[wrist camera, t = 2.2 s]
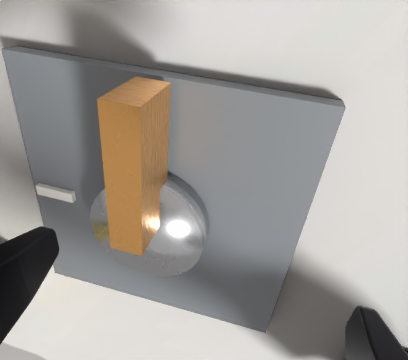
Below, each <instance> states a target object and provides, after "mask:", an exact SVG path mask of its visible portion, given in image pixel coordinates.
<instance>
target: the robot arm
mask: <svg viewBox="0 0 408 360" xmlns="http://www.w3.org/2000/svg"><path fill="white" fill-rule="evenodd" d="M58 254H59V244H58V240H57V236H56V232H55V230H54V229H51V228H47V227H38V228H35V229H33V230H31V231H29V232H26V233H24V234H22V235H20V236H17V237H15V238H13V239H11V240H8V241H6V242H4V243H2V244H0V344H1V343H2V341H3V340H4V339H5V337H6V336H7V334H8V333H9V332H10V330H11V329H12V327H13V326H14V325H15V323H16V322H17V320H18V319H19V318H20V316H21V315H22V314H23V312H24V311H25V309H26V308H27V306H28V305H29V304H30V302H31V301H32V299H33V297H34V296H35V294H36V293H37V291H38V289H39V287H40V286H41V284H42V282H43V281H44V279H45V277H46V275H47V274H48V272H49V270H50V268H51V267H52V265H53V263H54V262H55V260H56V258H57V256H58ZM345 340H346V360H408V352H406V351H405V350H404V349H403V347H402V346H401V344H400V343H399V342H398V340H397V339H396V338H395V336H394V335H393V333H392V332H391V331H390V329H389V328H388V326H387V325H386V324H385V322H384V321H383V319H382V318H381V317H380V315H379V314H378V313H377V311H375V310H374V309H372V308H368V307H364V306H357V307H356V308H355V310H354V312H353V313H352V315H351V317H350V319H349V321H348V323H347V325H346V331H345Z"/></svg>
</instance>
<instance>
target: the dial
mask: <svg viewBox="0 0 408 360" xmlns="http://www.w3.org/2000/svg"><path fill="white" fill-rule="evenodd" d="M170 98H171V82H165V81H159V80H153V79H148V78H142V77H134V78H132V79H130V80H129V81H127V82H125V83H124V84H122V85H120V86H118V87H117V88H115V89H113V90H111V91H110V92H108V93H106V94H105V95H103V96H101V97H99V98H98V99H97V105H98V116H99V126H100V137H101V148H102V159H103V170H104V181H105V188H104V189H103V190H102V191H101V192H100V193H99V195H98V196H97V197H96V198H95V200H94V202H93V204H92V207H91V212H90V221H91V226H92V229H93V232H94V234H95V236H96V238H97V239H98V241H99V243H100V244H101V245H102V247H103V248H104V249H105V250H106V251H107V252H108V253H109V254H110V255H111V256H112V257H113V258H114V259H116V260H117V261H119V262H120V263H121V264H123V265H125V266H126V267H128V268H130V269H132V270H135V271H137V272H140V273H143V274H147V275H151V276H158V277H168V276H175V275H179V274H182V273H184V272H186V271H188V270H189V269H191V268H192V267H193V266H194V265H195V264H196V263H197V261H198V260H199V258H200V256H201V253H202V250H203V247H204V245H205V242H206V239H207V236H208V232H209V225H210V223H209V216H208V212H207V209H206V207H205V205H204V203H203V201H202V200H201V198H200V197H199V195H198V194H197V193H196V192H195V191H194V190H193V189H192V188H191V187H190V186H189V185H188V184H187V183H185V182H184V181H182V180H181V179H179V178H178V177H176V176H174V175H172V174H170V173H168V149H169V124H170Z"/></svg>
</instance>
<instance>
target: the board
mask: <svg viewBox="0 0 408 360" xmlns="http://www.w3.org/2000/svg"><path fill="white" fill-rule="evenodd" d="M2 53H3V57H4V61H5V65H6V70H7V74H8V78H9V82H10V86H11V90H12V95H13V99H14V103H15V107H16V111H17V115H18V120H19V124H20V128H21V132H22V136H23V141H24V145H25V149H26V153H27V157H28V161H29V166H30V170H31V174H32V178H33V182H34V186H35V191H36V195H37V199H38V203H39V207H40V211H41V216H42V220H43V224H44V227H47V228H51V229H54V230H55V232H56V236H57V240H58V244H59V254H58V256H57V258H56V260H55V262H54V263H53V266H54V270H55V273H58V274H61V275H65V276H68V277H72V278H75V279H79V280H82V281H86V282H89V283H93V284H96V285H100V286H103V287H107V288H110V289H114V290H117V291H121V292H124V293H128V294H131V295H135V296H138V297H142V298H145V299H149V300H152V301H156V302H159V303H163V304H166V305H170V306H173V307H177V308H180V309H184V310H187V311H191V312H194V313H198V314H201V315H205V316H208V317H212V318H215V319H219V320H222V321H226V322H229V323H233V324H236V325H240V326H243V327H247V328H251V329H254V330H258V331H261V332H265V333H266V330H267V327H268V324H269V321H270V319H271V316H272V313H273V310H274V307H275V305H276V302H277V299H278V296H279V293H280V291H281V288H282V285H283V282H284V279H285V276H286V274H287V271H288V268H289V265H290V262H291V260H292V257H293V254H294V251H295V248H296V246H297V243H298V240H299V237H300V234H301V231H302V229H303V226H304V223H305V220H306V217H307V215H308V212H309V209H310V206H311V203H312V201H313V198H314V195H315V192H316V189H317V186H318V184H319V181H320V178H321V175H322V172H323V170H324V167H325V164H326V161H327V158H328V156H329V153H330V150H331V147H332V144H333V142H334V139H335V136H336V133H337V130H338V127H339V125H340V122H341V119H342V116H343V113H344V111H345V105H344V103H343V100H337V99H331V98H325V97H319V96H313V95H307V94H301V93H295V92H289V91H283V90H277V89H271V88H265V87H259V86H253V85H247V84H241V83H235V82H229V81H223V80H217V79H211V78H205V77H199V76H193V75H187V74H181V73H175V72H169V71H164V70H158V69H152V68H146V67H140V66H134V65H128V64H122V63H116V62H110V61H104V60H98V59H92V58H86V57H80V56H74V55H68V54H62V53H56V52H50V51H44V50H38V49H32V48H26V47H20V46H13V47H9V48H4V49H2ZM134 77H142V78H148V79H153V80H159V81H165V82H171V98H170V124H169V149H168V173H170V174H172V175H174V176H176V177H178V178H179V179H181V180H182V181H184V182H185V183H187V184H188V185H189V186H190V187H191V188H192V189H193V190H194V191H195V192H196V193H197V194H198V195H199V197H200V198H201V200H202V201H203V203H204V205H205V207H206V209H207V212H208V216H209V223H210V225H209V232H208V236H207V239H206V242H205V245H204V247H203V250H202V253H201V256H200V258H199V260H198V261H197V263H196V264H195V265H194V266H193V267H192V268H191V269H189V270H188V271H186V272H184V273H182V274H179V275H175V276H168V277H158V276H151V275H147V274H143V273H140V272H137V271H135V270H132V269H130V268H128V267H126V266H125V265H123V264H121V263H120V262H119V261H117V260H116V259H114V258H113V257H112V256H111V255H110V254H109V253H108V252H107V251H106V250H105V249H104V248H103V247H102V245H101V244H100V243H99V241H98V239H97V238H96V236H95V234H94V232H93V229H92V226H91V221H90V212H91V207H92V204H93V202H94V200H95V198H96V197H97V196H98V195H99V193H100V192H101V191H102V190H103V189H104V188H105V181H104V170H103V159H102V148H101V137H100V126H99V116H98V105H97V99H98V98H99V97H101V96H103V95H105V94H106V93H108V92H110V91H111V90H113V89H115V88H117V87H118V86H120V85H122V84H124V83H125V82H127V81H129V80H130V79H132V78H134Z"/></svg>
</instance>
